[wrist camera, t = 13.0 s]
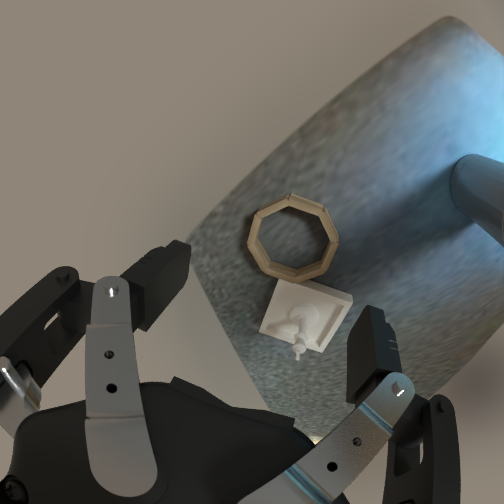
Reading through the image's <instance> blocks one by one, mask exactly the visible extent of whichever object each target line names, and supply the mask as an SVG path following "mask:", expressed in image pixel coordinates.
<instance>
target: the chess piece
mask: <svg viewBox="0 0 504 504" xmlns="http://www.w3.org/2000/svg"><path fill="white" fill-rule="evenodd" d="M290 319H291V321H292V323H293V324H295V325H296V326H298V333H296V334H295V335H294V340H295V341H296V342H295V343H294V345H293V346H292V350H293V351H294V352H295V353H296V360H299V359H300V354H301V353H304V352H305V351H306V346H305V342H306V341H307V340H308V335H307V334H306V333H305V332H306V329H307V328H309V327H312V326H314V325H315V324H316V323H317V322H318V319H319V311H318V309H317V308H316V307H315V306H314V305H312V304H309V303H299V304H296V305H295V306H293V307H292V309H291V310H290Z"/></svg>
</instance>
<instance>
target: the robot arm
mask: <svg viewBox="0 0 504 504" xmlns="http://www.w3.org/2000/svg"><path fill="white" fill-rule="evenodd" d="M450 186H451V194H452V198H453V200H454V203H455V204H456V206H457V207H458V208H459V209H460V210H461V211H462V212H463V213H464V214H466V215H467V216H468V217H469V218H471V219H472V220H473V221H474V222H475V223H477V224H478V225H479V226H480V227H481V228H483V229H484V230H485V231H486V232H487V233H488V234H490V235H491V236H492V237H493V238H494V239H495V240H496V241H497V242H499V243H500V244H501V245H502V246H503V247H504V163H502V162H499V161H496V160H493V159H491V158H487V157H484V156H481V155H477V154H470V155H467V156H465V157H463V158H462V159H461V160H459V161H458V163H457V164H456V166H455V168H454V170H453V172H452V176H451V183H450ZM190 256H191V245H189V244H186V243H183V242H181V241H178V240H173V241H172V242H171V243H170V244H169V245H167V246H166V247H162V246H161V247H158V248H155V249H152V250H151V251H149V252H148V253H147V254H146V255H144V257H142V258H141V259H140V260H139V261H138V262H136V263H135V264H133V265H132V266H131V267H130V268H129V269H127V270H126V271H125V272H124V273H123V274H122V275H120V276H119V277H117V276H107V277H103V278H101V279H99V280H98V281H97V282H96V283H91V282H87V281H82V280H80V279H79V274H78V271H77V270H76V269H75V268H73V267H69V266H63V267H58V268H56V269H54V270H53V271H51V272H50V273H49V274H47V275H46V276H45V277H44V278H43V279H41V280H40V281H39V282H38V283H37V284H35V285H34V286H33V287H32V288H31V289H29V290H28V291H27V292H26V293H25V294H24V295H23V296H21V297H20V298H19V299H18V300H17V301H16V302H15V303H14V304H13V305H12V306H10V307H9V308H8V309H7V310H6V311H5V312H4V313H3V314H2V315H1V316H0V425H1V426H2V427H3V429H5V430H6V432H7V433H8V434H9V435H10V436H12V437H13V438H14V446H13V456H12V461H11V465H10V468H9V471H8V474H7V475H6V476H5V478H4V479H3V480H2V481H1V482H0V504H350V503H349V502H348V500H347V498H346V497H345V495H344V494H343V491H344V490H345V489H346V488H347V487H348V486H349V485H350V484H351V483H352V482H353V481H354V480H355V478H356V477H357V476H358V475H359V474H360V473H361V472H362V471H363V470H364V469H365V468H366V466H367V465H368V464H369V463H370V462H371V461H372V459H373V458H374V457H375V456H376V455H377V453H378V452H379V451H380V449H382V447H383V446H384V445H385V444H386V442H387V441H388V457H387V469H386V479H385V487H384V495H383V501H382V504H460V492H461V489H460V488H461V483H460V481H461V478H460V455H459V443H458V434H457V425H456V418H455V411H454V407H453V405H452V403H451V401H450V400H449V399H448V398H447V397H445V396H443V395H440V394H437V395H434V396H433V397H432V398H431V399H430V400H427V399H425V398H423V397H421V396H419V395H417V394H415V389H414V386H413V383H412V382H411V380H410V379H409V378H408V377H407V376H405V375H404V374H402V368H401V362H400V357H399V351H398V346H397V343H396V342H397V341H396V336H395V332H394V330H393V329H392V327H391V325H390V324H389V323H386V321H385V316H384V311H383V310H382V309H379V308H376V307H373V306H370V305H367V306H366V307H365V308H364V309H363V311H362V313H361V314H360V316H359V318H358V319H357V321H356V323H355V324H354V326H353V328H352V329H351V331H350V334H349V336H348V341H347V392H346V402H347V403H352V404H355V409H354V410H353V411H352V412H351V413H350V414H349V415H348V416H347V417H346V418H345V419H344V420H343V421H342V422H341V423H340V424H339V425H337V426H336V427H335V428H334V429H333V430H332V431H331V432H330V433H329V434H327V435H326V436H325V437H324V438H323V439H322V440H320V441H319V442H318V443H317V444H316V445H315V444H314V443H313V442H312V441H311V440H310V439H309V437H307V436H306V435H305V434H304V433H303V432H301V431H299V430H298V429H296V428H294V427H293V425H294V421H295V418H292V417H288V416H284V415H280V414H277V413H273V412H270V411H266V410H257V409H246V408H237V407H232V406H229V405H228V404H226V403H224V402H223V401H221V400H220V399H218V398H217V397H215V396H213V395H212V394H211V393H209V392H207V391H206V390H205V389H203V388H201V387H198V386H196V385H194V384H191V383H189V382H187V381H184V380H182V379H180V378H177V377H175V376H174V377H173V379H172V381H171V382H170V383H165V382H144V383H140V380H139V375H138V368H137V361H136V354H135V345H134V336H133V333H134V331H135V330H136V329H137V328H139V329H141V330H143V331H145V332H147V330H148V329H149V328H150V327H151V325H152V324H153V323H154V322H155V320H156V319H157V318H158V317H159V315H160V314H161V313H162V312H163V311H164V309H165V308H166V307H167V306H168V304H169V303H170V302H171V301H172V300H173V298H174V297H175V296H176V295H177V294H178V292H179V291H180V290H181V289H182V288H183V286H184V285H185V283H186V280H187V277H188V272H189V264H190ZM56 313H57V314H58V317H57V318H56V319H55V320H54V321H53V322H52V323H51V324H50V325H49V326H48V327H47V328H46V329H45V330H44V327H45V325H46V323H47V322H48V321H49V320H50V319H51V318H52V317H53V316H54V315H55V314H56ZM85 333H86V341H85V395H86V400H82V401H79V402H75V403H71V404H67V405H63V406H59V407H55V408H51V409H46V410H41V411H38V410H39V409H40V401H41V390H40V389H41V388H42V386H43V385H44V384H45V383H46V381H47V380H48V379H49V377H50V376H51V375H52V374H53V372H54V371H55V370H56V368H57V367H58V366H59V365H60V363H61V362H62V361H63V360H64V358H65V357H66V356H67V355H68V354H69V352H70V351H71V350H72V349H73V347H74V346H75V345H76V344H77V343H78V341H79V340H80V339H81V338H82V337H83V336H84V335H85ZM422 442H423V460H422V462H421V464H420V443H422Z"/></svg>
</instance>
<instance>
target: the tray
mask: <svg viewBox="0 0 504 504" xmlns="http://www.w3.org/2000/svg"><path fill="white" fill-rule="evenodd" d="M299 303H309V304H312V305H314V306H315V307H316V308H317V309H318V311H319V319H318V322H317V323H316V324H315V325H314V326H312V327H309V328H307V329H306V332H305V333H306V334H307V335H308V340H307V341H306V342H305V346H306V348H309V349H312V350H315V351H318V352H323V351H324V349H325V348H326V346H327V344H328V343H329V341H330V340H331V338H332V337H333V335H334V333H335V332H336V330H337V329H338V327H339V325H340V324H341V322H342V321H343V319H344V317H345V316H346V314H347V312H348V310H349V309H350V307H351V305H352V304H353V300H352V295H351V294H348V293H345V292H342V291H339V290H337V289H334V288H331V287H328V286H325V285H322V284H319V283H316V282H314V281H311V280H306V281H303V282H300V283H297V284H296V283H295V282H294V284H293V283H290V282H287V281H284V280H281V279H278V282H277V285H276V287H275V290H274V292H273V295H272V298H271V300H270V303H269V306H268V308H267V311H266V313H265V316H264V318H263V321H262V324H261V326H260V329H259V332H261V333H263V334H266V335H269V336H272V337H275V338H278V339H281V340H284V341H287V342H290V343H293V344H294V343H295V342H296V341H295V340H294V335H295V334H296V333H298V326H296V325H295V324H293V323H292V321H291V319H290V310H291V309H292V307H293V306H295V305H296V304H299Z"/></svg>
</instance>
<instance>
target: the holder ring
mask: <svg viewBox="0 0 504 504" xmlns="http://www.w3.org/2000/svg"><path fill="white" fill-rule="evenodd" d="M287 206H291V207H294V208H297V209H300V210H303V211H305V212H308V213H311V214H314V215H317V216H319V218H320V220H321V222H322V224H323V226H324V228H325V230H326V232H327V234H328V237H329V239H330V240H329V243H328V245H327V247H326V250H325V252H324V255H323V257H322V259H321V260H320V261H317V262H315V263H312V264H310V265H307V266H304V267H302V268H299V269H297V270H296V269H293V268H291V267H288V266H285V265H282V264H279V263H276V262H274V261H271V260H270V258H269V256H268V254H267V253H266V251H265V249H264V248H263V246H262V244H261V242H260V241H259V239H258V236H259V232H260V229H261V225H262V222H263V218H264V217H265V216H268V215H270V214H272V213H274V212H276V211H278V210H280V209H282V208H285V207H287ZM247 244H248V245H247V247H248V248H249V250H250V252H251V253H252V255H253V257H254V258H255V260H256V262H257V263H258V265H259V267H260V268H261V270H262V272H264V271H265V273H264V274H267V275H270V276H273V277H276V278H279V279H281V280H284V281H287V282H290V283H293V284H294V282H295V283H296V284H297V283H300V282H303V281H306V280H308V279H311V278H314V277H316V276H319V275H322V274H325V271H326V272H327V270H328V268H329V265H330V263H331V261H332V259H333V257H334V254H335V252H336V250H337V248H338V245H339V237H338V233H337V231H336V229H335V227H334V224H333V222H332V220H331V218H330V216H329V214H328V212H327V210H326V208H325V206H324V207H323V204H320V203H317V202H314V201H312V200H309V199H306V198H303V197H300V196H297V195H294V194H291V195H289V194H287V195H285V196H283V197H281V198H279V199H277V200H275V201H272V202H270V203H268V204H266V205H264V206H262V207H260V209H259V210H258V211H257V212H256V214H255V216H254V219H253V223H252V227H251V230H250V234H249V237H248V241H247Z"/></svg>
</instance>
